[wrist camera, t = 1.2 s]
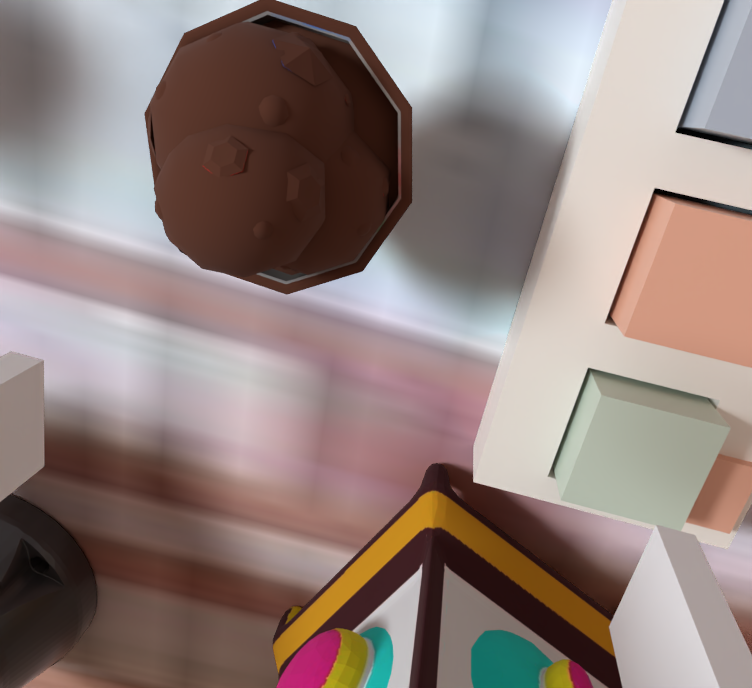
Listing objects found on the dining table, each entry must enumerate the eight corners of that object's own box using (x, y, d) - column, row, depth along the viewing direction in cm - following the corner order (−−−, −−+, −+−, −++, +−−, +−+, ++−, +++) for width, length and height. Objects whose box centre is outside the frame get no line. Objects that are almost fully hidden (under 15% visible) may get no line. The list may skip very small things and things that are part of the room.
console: (702, 505, 37) (731, 556, 33) (473, 446, 38) (473, 488, 34) (955, -10, 27) (1044, -32, 23) (635, -75, 28) (664, -109, 24)
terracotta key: (721, 335, 32) (759, 369, 28) (604, 307, 32) (624, 336, 28) (773, 220, 30) (823, 237, 25) (647, 190, 30) (675, 203, 26)
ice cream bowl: (458, 208, 34) (447, 277, 20) (272, 268, 36) (146, 366, 22) (396, -2, 30) (331, -96, 17) (198, 81, 33) (-2, 59, 19)
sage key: (655, 482, 35) (680, 532, 31) (550, 454, 35) (560, 500, 31) (698, 387, 33) (730, 427, 29) (585, 359, 33) (601, 395, 29)
